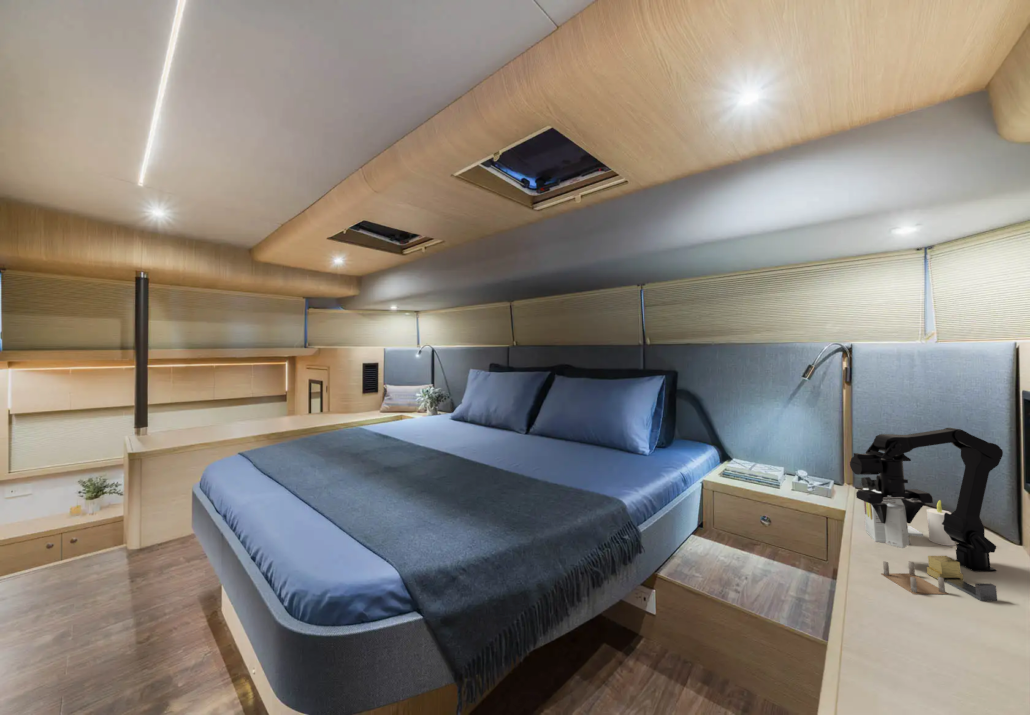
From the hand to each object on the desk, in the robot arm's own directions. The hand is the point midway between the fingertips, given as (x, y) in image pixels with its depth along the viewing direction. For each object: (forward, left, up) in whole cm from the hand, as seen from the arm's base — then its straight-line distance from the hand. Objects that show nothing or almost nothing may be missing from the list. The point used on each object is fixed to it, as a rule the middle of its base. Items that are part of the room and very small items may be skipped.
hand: (895, 523), depth 127 cm
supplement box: (-11, -19, -13) cm, 26 cm away
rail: (-6, +13, -13) cm, 19 cm away
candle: (-27, -16, -13) cm, 34 cm away
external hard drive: (-20, -26, -14) cm, 36 cm away
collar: (-6, +9, -13) cm, 17 cm away
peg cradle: (+6, +12, -13) cm, 18 cm away
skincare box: (0, 0, -7) cm, 7 cm away
